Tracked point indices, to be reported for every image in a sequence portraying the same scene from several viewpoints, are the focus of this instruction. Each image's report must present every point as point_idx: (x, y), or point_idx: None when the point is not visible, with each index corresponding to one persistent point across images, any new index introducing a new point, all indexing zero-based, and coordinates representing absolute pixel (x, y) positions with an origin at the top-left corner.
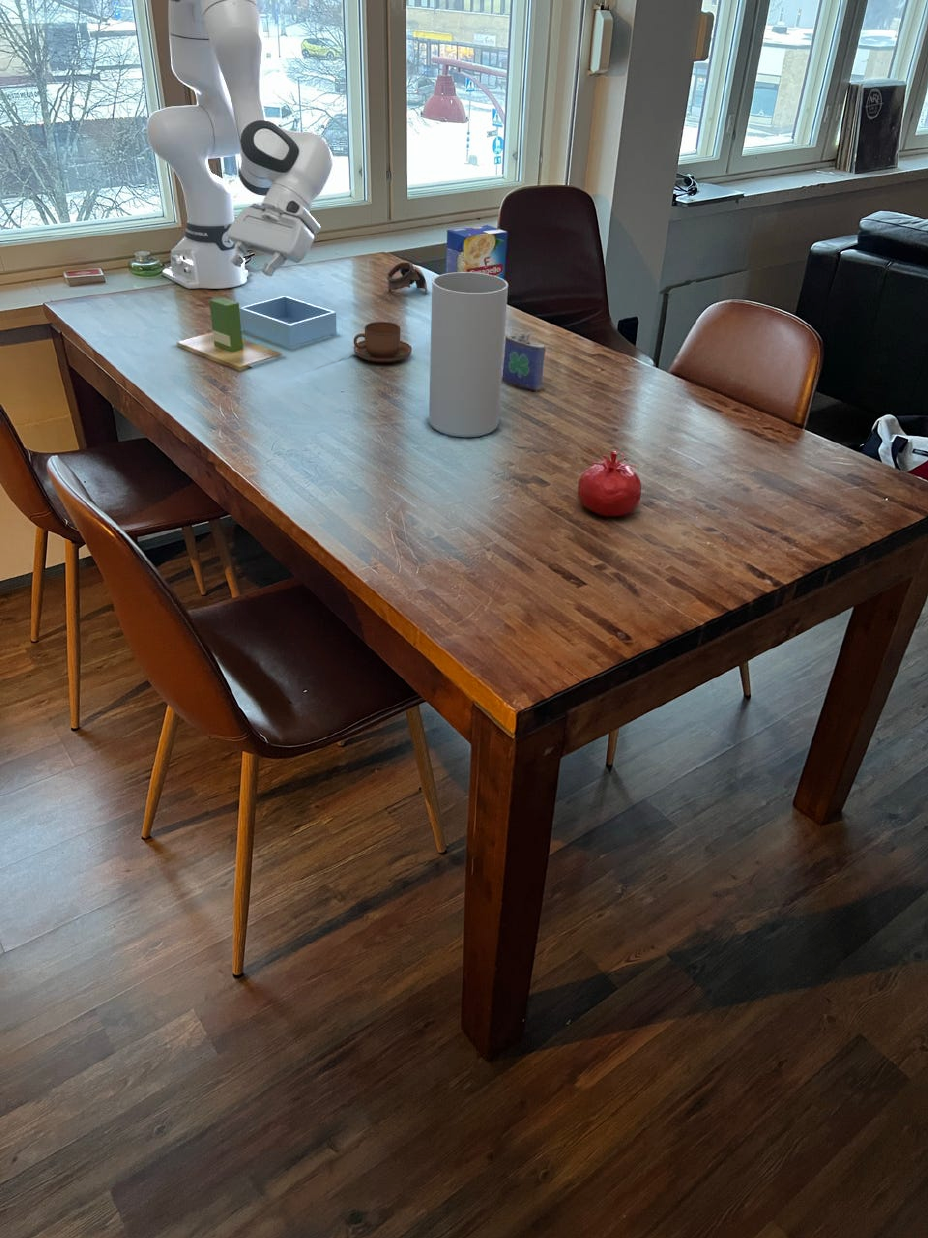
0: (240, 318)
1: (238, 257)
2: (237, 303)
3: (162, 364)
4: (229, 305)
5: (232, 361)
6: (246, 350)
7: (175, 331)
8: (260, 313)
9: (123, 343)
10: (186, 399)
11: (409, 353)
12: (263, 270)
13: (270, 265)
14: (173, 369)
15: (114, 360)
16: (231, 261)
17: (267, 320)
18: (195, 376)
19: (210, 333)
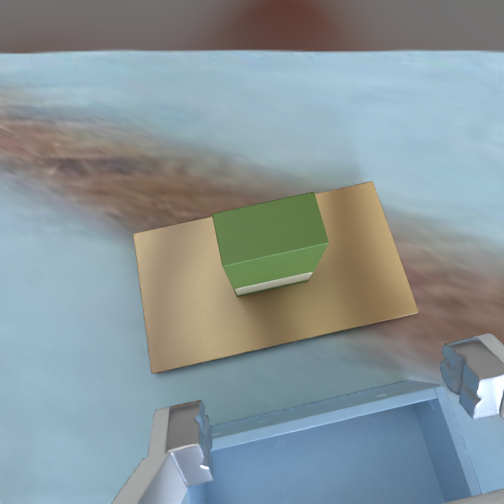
0: (423, 382)
1: (469, 370)
2: (221, 260)
3: (273, 121)
4: (214, 224)
5: (173, 234)
6: (224, 300)
7: (488, 227)
8: (449, 476)
9: (445, 100)
10: (73, 92)
11: None
12: (185, 404)
13: (148, 455)
14: (233, 128)
15: (345, 56)
16: (485, 334)
17: (290, 418)
18: (169, 148)
19: (401, 279)
